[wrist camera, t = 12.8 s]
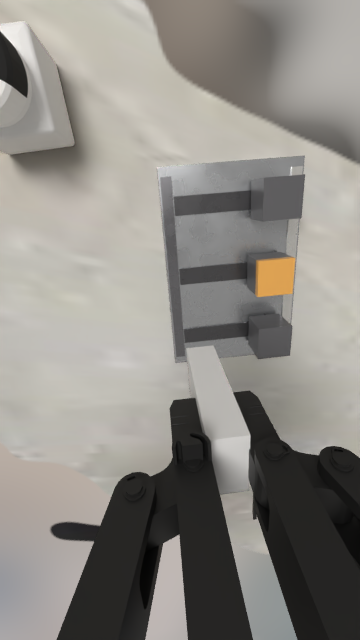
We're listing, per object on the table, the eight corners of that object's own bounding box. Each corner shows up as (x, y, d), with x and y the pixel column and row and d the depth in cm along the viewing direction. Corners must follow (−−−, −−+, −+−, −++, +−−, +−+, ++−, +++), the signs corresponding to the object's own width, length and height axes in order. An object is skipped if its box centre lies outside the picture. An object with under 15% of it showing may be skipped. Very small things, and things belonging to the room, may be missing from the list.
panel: (174, 357, 41) (175, 363, 40) (156, 168, 32) (157, 166, 30) (284, 345, 42) (289, 351, 40) (298, 157, 33) (305, 155, 31)
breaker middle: (247, 287, 36) (257, 297, 32) (247, 254, 34) (258, 261, 31) (278, 284, 36) (292, 293, 32) (280, 251, 35) (295, 257, 31)
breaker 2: (248, 343, 39) (258, 358, 35) (248, 316, 38) (258, 329, 34) (277, 340, 39) (289, 355, 36) (278, 313, 38) (292, 325, 34)
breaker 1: (250, 219, 33) (262, 221, 29) (251, 180, 31) (264, 177, 28) (284, 216, 33) (301, 218, 29) (287, 177, 32) (304, 174, 28)
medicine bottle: (-19, 70, 28) (-134, -15, 17) (56, 61, 28) (-9, -31, 17) (8, 155, 30) (-75, 130, 19) (76, 146, 31) (32, 116, 20)
